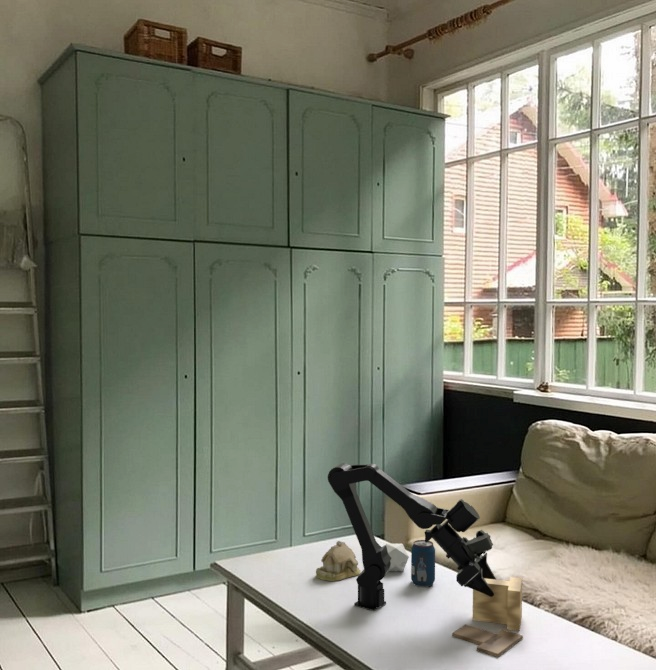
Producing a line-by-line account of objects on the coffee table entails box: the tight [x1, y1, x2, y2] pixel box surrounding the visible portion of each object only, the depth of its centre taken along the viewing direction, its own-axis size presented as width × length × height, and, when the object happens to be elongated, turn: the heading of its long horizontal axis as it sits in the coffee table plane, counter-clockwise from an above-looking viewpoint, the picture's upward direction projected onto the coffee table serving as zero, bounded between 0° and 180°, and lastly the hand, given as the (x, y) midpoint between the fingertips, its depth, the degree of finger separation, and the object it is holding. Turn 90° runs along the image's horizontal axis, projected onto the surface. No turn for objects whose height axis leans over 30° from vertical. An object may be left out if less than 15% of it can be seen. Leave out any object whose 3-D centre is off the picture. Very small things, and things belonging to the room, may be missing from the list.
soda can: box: [410, 539, 436, 588], centre depth 225 cm, size 7×7×12 cm
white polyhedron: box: [385, 543, 410, 572], centre depth 237 cm, size 8×9×10 cm
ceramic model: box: [315, 540, 362, 582], centre depth 233 cm, size 14×11×10 cm
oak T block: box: [472, 576, 523, 632], centre depth 199 cm, size 12×10×10 cm
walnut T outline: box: [451, 624, 524, 658], centre depth 187 cm, size 14×13×1 cm
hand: (494, 589), depth 199 cm, fingers open, 9 cm apart
